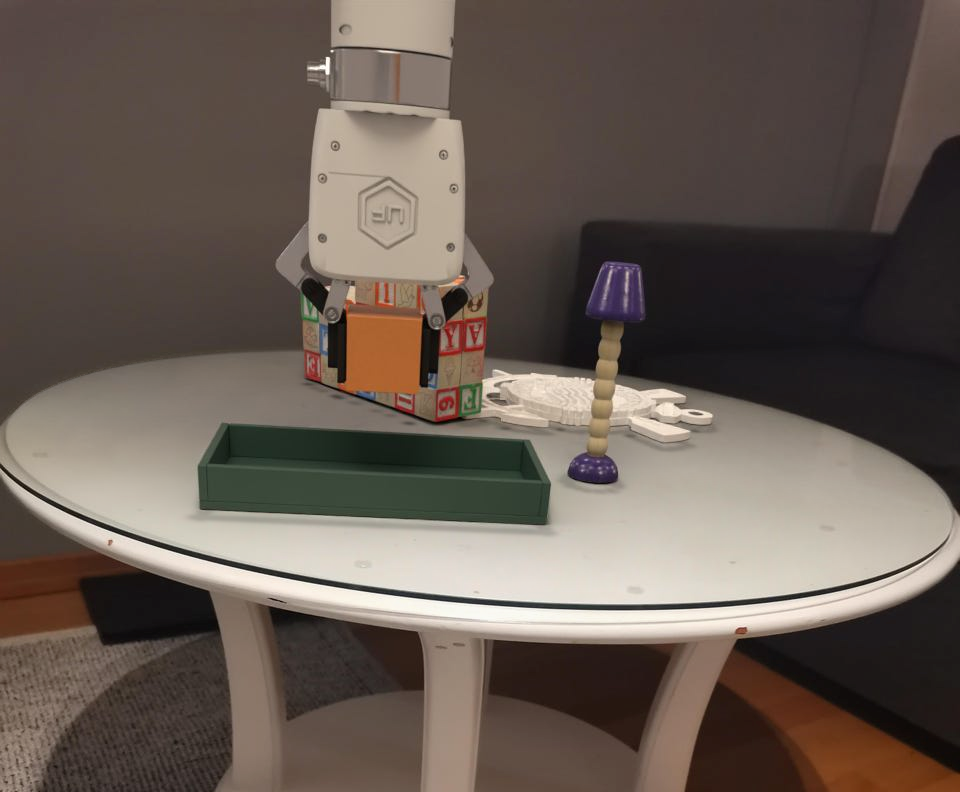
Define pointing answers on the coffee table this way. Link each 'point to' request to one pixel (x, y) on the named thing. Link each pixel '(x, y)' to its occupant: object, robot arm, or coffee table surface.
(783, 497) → the coffee table surface
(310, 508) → the tray
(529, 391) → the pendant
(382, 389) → the orange block
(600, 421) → the toy lamp
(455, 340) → the stack of blocks
